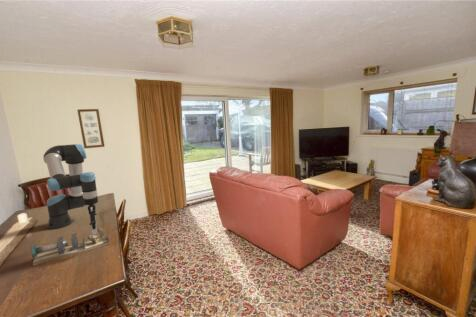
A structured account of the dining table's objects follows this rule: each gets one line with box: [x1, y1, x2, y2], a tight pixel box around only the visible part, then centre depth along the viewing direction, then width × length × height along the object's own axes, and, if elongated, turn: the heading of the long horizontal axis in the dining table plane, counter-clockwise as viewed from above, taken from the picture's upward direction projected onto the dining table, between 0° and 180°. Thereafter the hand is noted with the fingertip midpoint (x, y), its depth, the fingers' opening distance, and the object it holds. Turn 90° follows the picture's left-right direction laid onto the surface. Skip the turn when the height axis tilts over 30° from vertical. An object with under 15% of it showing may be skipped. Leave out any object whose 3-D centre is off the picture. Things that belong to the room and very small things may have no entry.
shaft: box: [30, 239, 69, 259], centre depth 127 cm, size 16×6×6 cm, turn 124°
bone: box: [87, 227, 104, 243], centre depth 141 cm, size 9×6×10 cm
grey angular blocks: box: [56, 231, 110, 255], centre depth 136 cm, size 10×25×9 cm, turn 124°
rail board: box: [32, 235, 110, 266], centre depth 134 cm, size 10×36×2 cm, turn 124°
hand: (94, 229), depth 139 cm, fingers open, 13 cm apart
